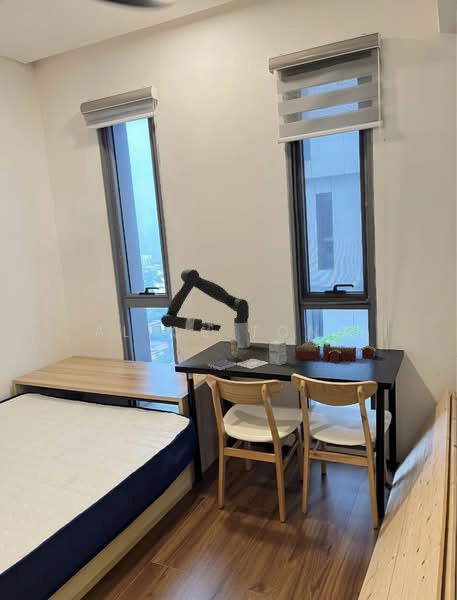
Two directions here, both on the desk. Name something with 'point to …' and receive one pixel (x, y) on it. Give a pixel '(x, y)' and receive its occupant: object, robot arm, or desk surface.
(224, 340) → the desk surface
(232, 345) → the stamp
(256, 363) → the card sheet
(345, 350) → the toy houses
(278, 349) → the supplement box
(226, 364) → the ink pad
